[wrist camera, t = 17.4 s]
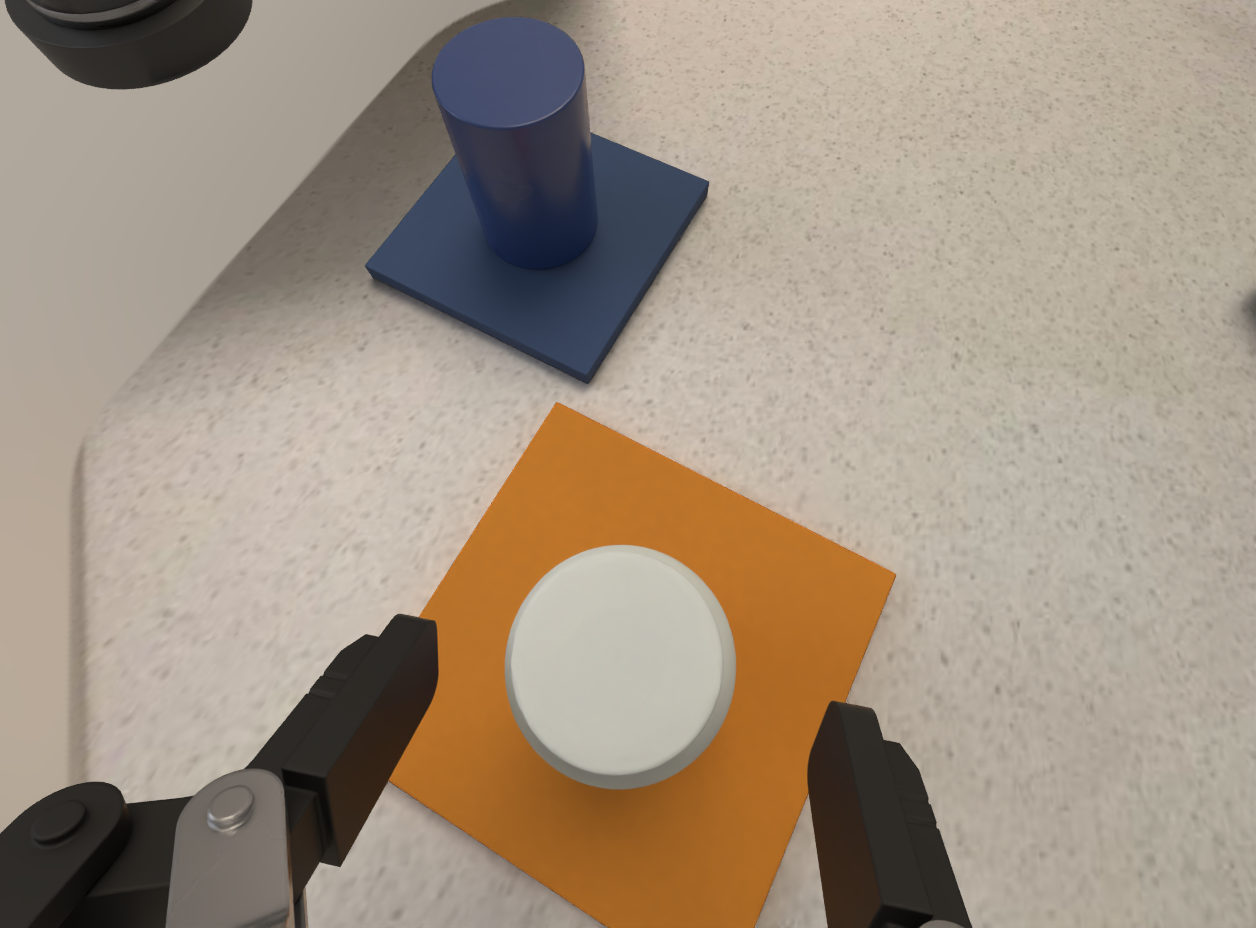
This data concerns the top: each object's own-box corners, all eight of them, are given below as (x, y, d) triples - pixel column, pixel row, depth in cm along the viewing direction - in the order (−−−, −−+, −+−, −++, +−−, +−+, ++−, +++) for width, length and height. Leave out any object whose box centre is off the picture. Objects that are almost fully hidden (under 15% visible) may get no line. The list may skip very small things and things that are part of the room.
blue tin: (461, 241, 25) (399, 93, 19) (522, 161, 27) (485, -3, 20) (560, 288, 25) (532, 150, 18) (618, 203, 26) (612, 46, 19)
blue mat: (371, 277, 26) (364, 265, 25) (506, 110, 29) (502, 95, 28) (588, 384, 24) (586, 375, 23) (707, 194, 27) (709, 181, 26)
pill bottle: (680, 772, 19) (722, 876, 10) (524, 719, 19) (423, 770, 10) (721, 606, 20) (791, 560, 11) (576, 562, 21) (529, 483, 12)
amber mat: (346, 742, 20) (335, 746, 19) (558, 408, 24) (556, 400, 23) (719, 991, 18) (723, 1006, 17) (888, 577, 21) (897, 573, 21)
